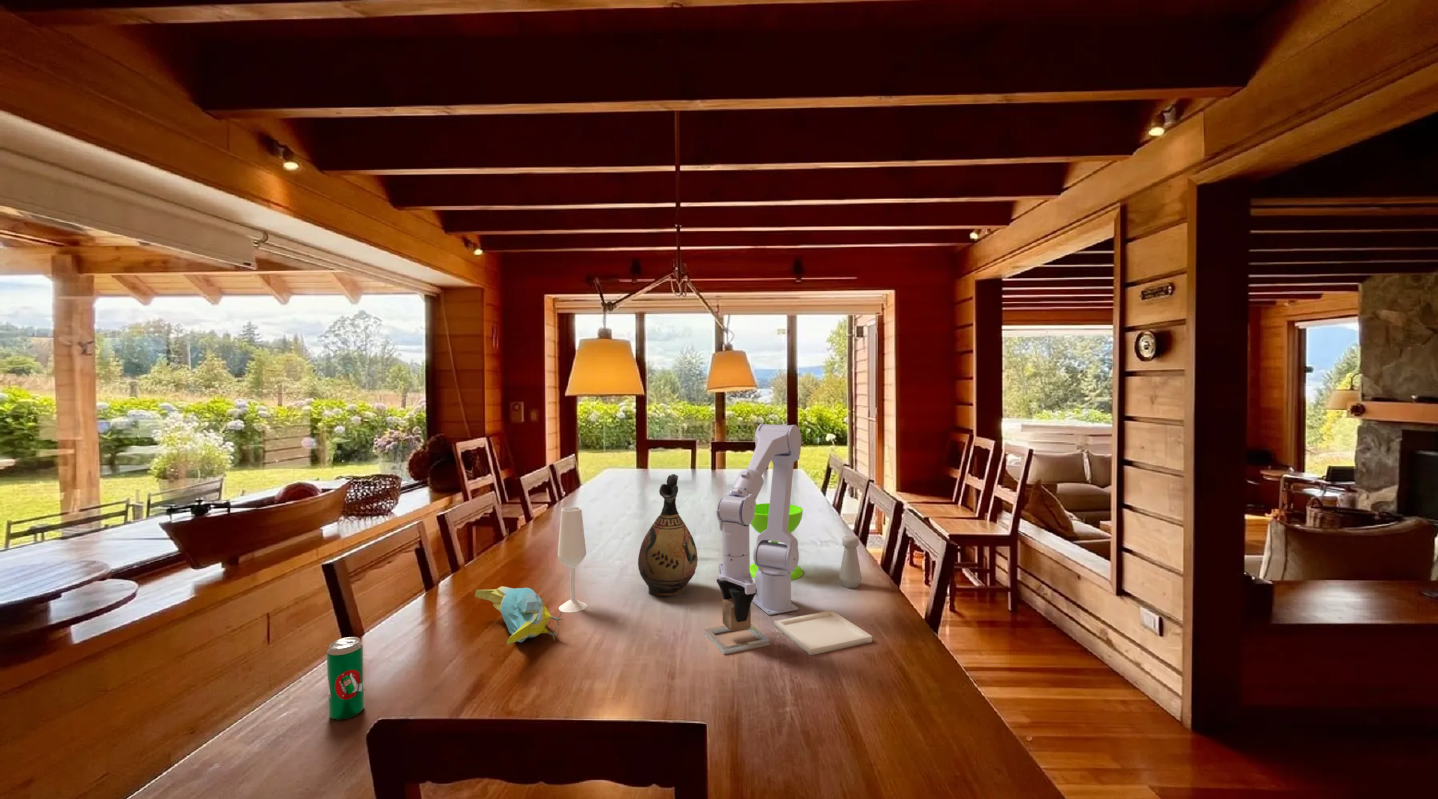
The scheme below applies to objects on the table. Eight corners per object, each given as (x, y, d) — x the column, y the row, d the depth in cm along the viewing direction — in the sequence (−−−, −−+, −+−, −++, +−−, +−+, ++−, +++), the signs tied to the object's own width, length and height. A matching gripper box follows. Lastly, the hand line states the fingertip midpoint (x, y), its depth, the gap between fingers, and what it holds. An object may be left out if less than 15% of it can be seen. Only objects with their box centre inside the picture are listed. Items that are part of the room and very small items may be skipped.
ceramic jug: (696, 601, 146) (695, 481, 145) (633, 601, 147) (632, 481, 146) (699, 578, 163) (698, 470, 162) (644, 578, 164) (642, 470, 163)
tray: (774, 626, 132) (774, 621, 132) (831, 615, 138) (831, 610, 138) (810, 655, 118) (810, 649, 118) (872, 641, 124) (872, 636, 124)
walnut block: (722, 623, 126) (722, 600, 126) (741, 619, 128) (741, 596, 128) (731, 631, 122) (731, 607, 122) (750, 627, 124) (750, 604, 124)
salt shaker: (861, 590, 154) (861, 540, 153) (839, 588, 155) (839, 539, 154) (861, 582, 159) (861, 534, 159) (839, 581, 160) (839, 533, 160)
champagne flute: (575, 599, 148) (574, 504, 147) (592, 606, 144) (591, 508, 143) (552, 607, 143) (551, 509, 142) (569, 614, 139) (568, 513, 138)
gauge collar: (704, 633, 128) (704, 629, 128) (748, 625, 132) (748, 621, 132) (723, 654, 119) (723, 649, 118) (770, 645, 123) (770, 640, 123)
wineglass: (740, 578, 163) (740, 513, 162) (753, 560, 178) (753, 501, 178) (798, 584, 159) (798, 517, 158) (806, 565, 174) (806, 504, 173)
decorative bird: (536, 607, 144) (535, 569, 143) (578, 655, 118) (577, 610, 118) (476, 620, 136) (475, 581, 136) (507, 675, 111) (506, 626, 111)
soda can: (339, 705, 101) (337, 636, 101) (370, 704, 101) (368, 635, 101) (322, 722, 96) (319, 650, 95) (354, 721, 96) (352, 648, 96)
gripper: (705, 546, 130) (706, 606, 130) (732, 565, 116) (733, 633, 117) (734, 542, 133) (735, 601, 133) (764, 560, 119) (765, 627, 120)
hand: (736, 616), depth 125 cm, fingers closed on walnut block, 4 cm apart
